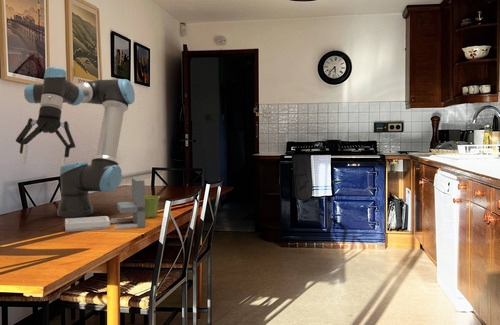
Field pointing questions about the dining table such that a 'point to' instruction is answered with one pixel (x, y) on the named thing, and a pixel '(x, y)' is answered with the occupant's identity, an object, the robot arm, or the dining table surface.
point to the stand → (133, 207)
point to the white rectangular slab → (87, 223)
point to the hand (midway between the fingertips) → (43, 164)
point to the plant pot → (151, 206)
